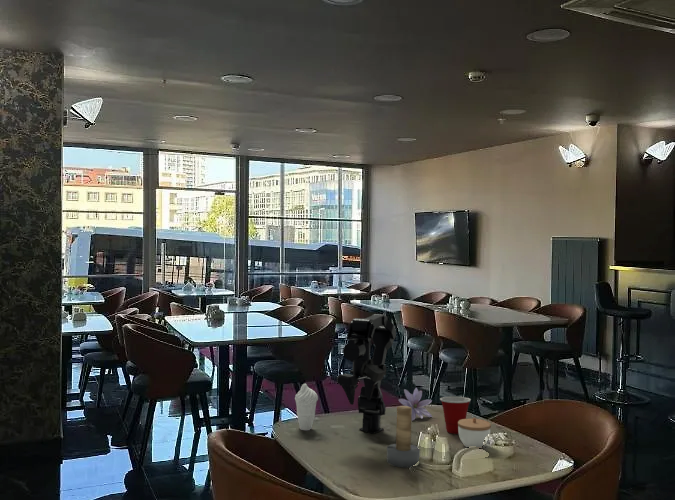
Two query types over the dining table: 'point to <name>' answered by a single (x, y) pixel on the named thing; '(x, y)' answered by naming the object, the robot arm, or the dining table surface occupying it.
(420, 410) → the water lily
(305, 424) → the soft serve ice cream cone
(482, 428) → the lidded jar
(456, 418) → the plastic cup
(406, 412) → the oak pillar
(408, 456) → the grey round bowl
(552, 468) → the dining table surface
